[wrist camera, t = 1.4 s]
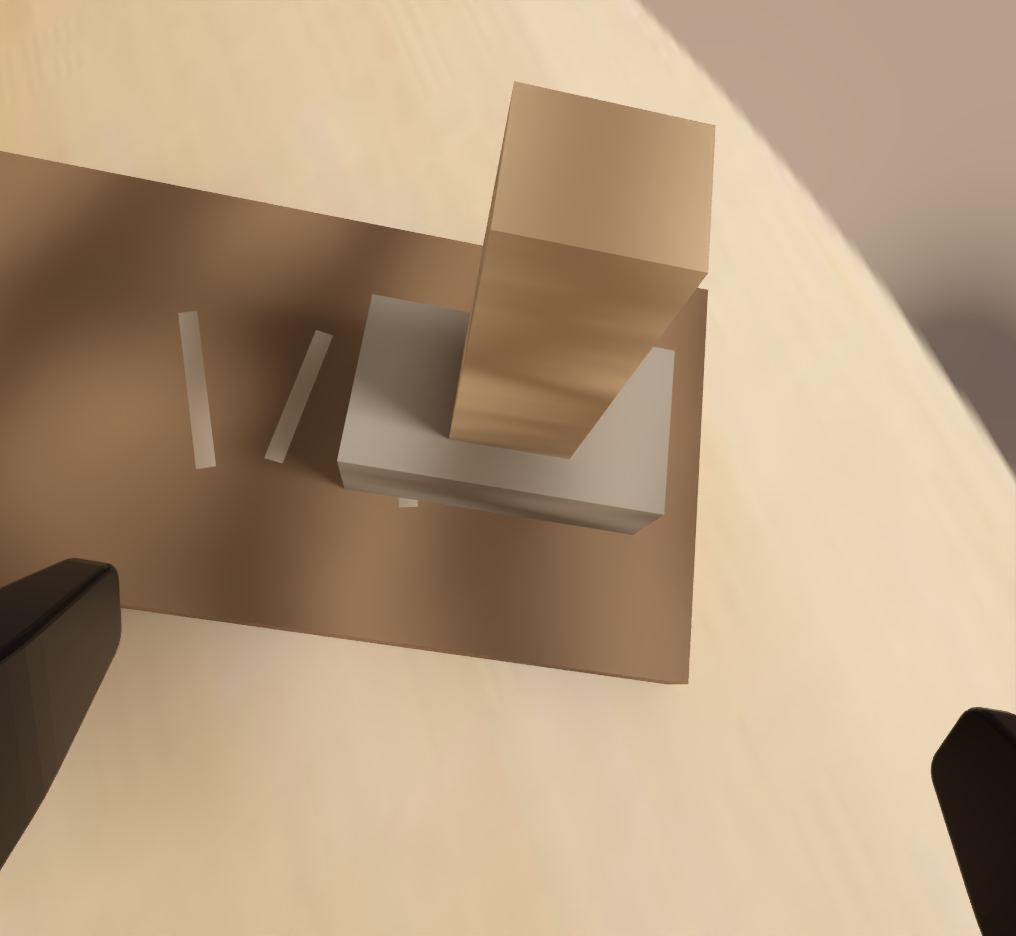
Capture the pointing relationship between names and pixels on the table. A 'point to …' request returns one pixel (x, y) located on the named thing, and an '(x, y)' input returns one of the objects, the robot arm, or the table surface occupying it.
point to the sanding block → (547, 328)
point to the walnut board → (286, 435)
